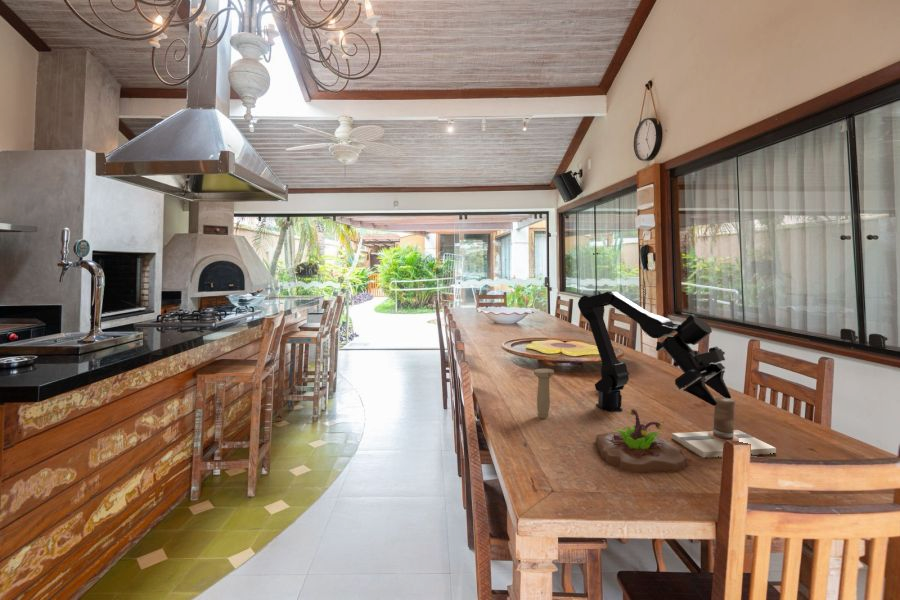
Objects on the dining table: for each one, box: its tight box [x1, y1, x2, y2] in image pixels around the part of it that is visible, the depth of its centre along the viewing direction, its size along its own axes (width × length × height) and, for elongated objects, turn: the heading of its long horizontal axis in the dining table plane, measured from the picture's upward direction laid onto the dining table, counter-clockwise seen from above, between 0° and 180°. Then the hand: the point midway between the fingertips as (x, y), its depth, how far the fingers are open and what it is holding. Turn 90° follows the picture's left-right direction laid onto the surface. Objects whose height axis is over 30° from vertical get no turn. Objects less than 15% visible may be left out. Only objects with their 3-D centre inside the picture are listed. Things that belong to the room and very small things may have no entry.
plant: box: [595, 408, 688, 474], centre depth 106 cm, size 20×20×11 cm
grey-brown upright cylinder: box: [712, 397, 736, 440], centre depth 113 cm, size 5×5×10 cm
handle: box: [533, 368, 555, 420], centre depth 132 cm, size 5×6×15 cm
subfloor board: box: [671, 429, 777, 459], centre depth 111 cm, size 20×12×2 cm, turn 96°
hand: (722, 401), depth 113 cm, fingers open, 9 cm apart
